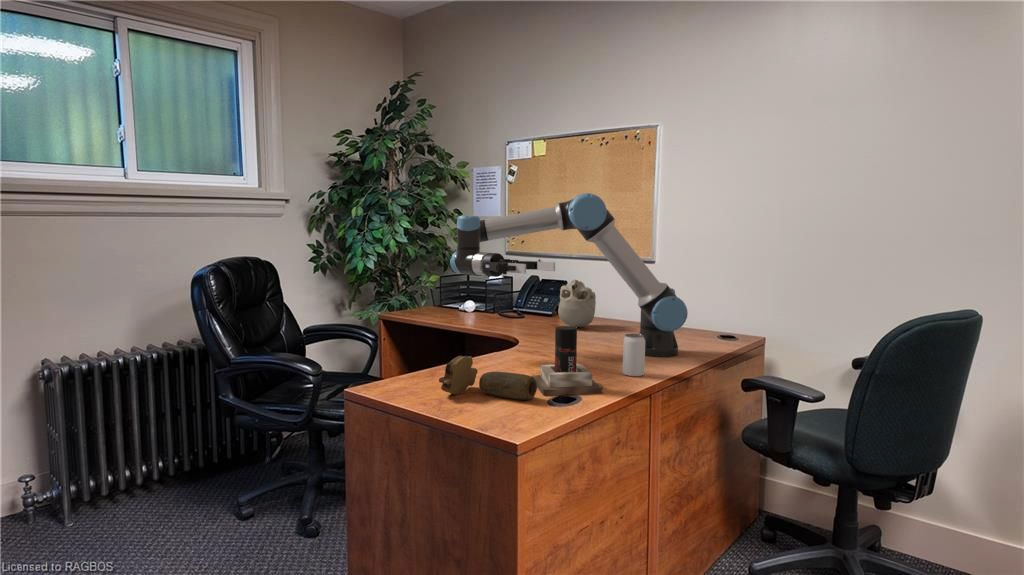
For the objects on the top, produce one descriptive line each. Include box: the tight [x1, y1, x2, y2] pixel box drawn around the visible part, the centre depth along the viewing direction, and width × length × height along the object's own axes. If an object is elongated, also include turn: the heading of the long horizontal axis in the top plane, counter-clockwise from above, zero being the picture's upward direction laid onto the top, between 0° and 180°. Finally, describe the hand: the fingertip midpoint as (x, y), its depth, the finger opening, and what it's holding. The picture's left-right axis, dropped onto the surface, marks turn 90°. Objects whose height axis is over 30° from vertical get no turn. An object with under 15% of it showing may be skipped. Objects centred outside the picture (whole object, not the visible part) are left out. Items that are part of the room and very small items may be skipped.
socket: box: [531, 363, 603, 397], centre depth 168 cm, size 16×16×5 cm
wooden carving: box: [438, 355, 478, 396], centre depth 161 cm, size 16×5×10 cm, turn 159°
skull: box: [557, 279, 597, 328], centre depth 267 cm, size 20×15×22 cm
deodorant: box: [554, 325, 578, 373], centre depth 168 cm, size 6×6×15 cm
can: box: [622, 333, 646, 377], centre depth 183 cm, size 6×6×12 cm
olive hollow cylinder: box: [478, 371, 538, 401], centre depth 158 cm, size 15×7×7 cm, turn 63°
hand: (540, 267), depth 181 cm, fingers open, 13 cm apart
